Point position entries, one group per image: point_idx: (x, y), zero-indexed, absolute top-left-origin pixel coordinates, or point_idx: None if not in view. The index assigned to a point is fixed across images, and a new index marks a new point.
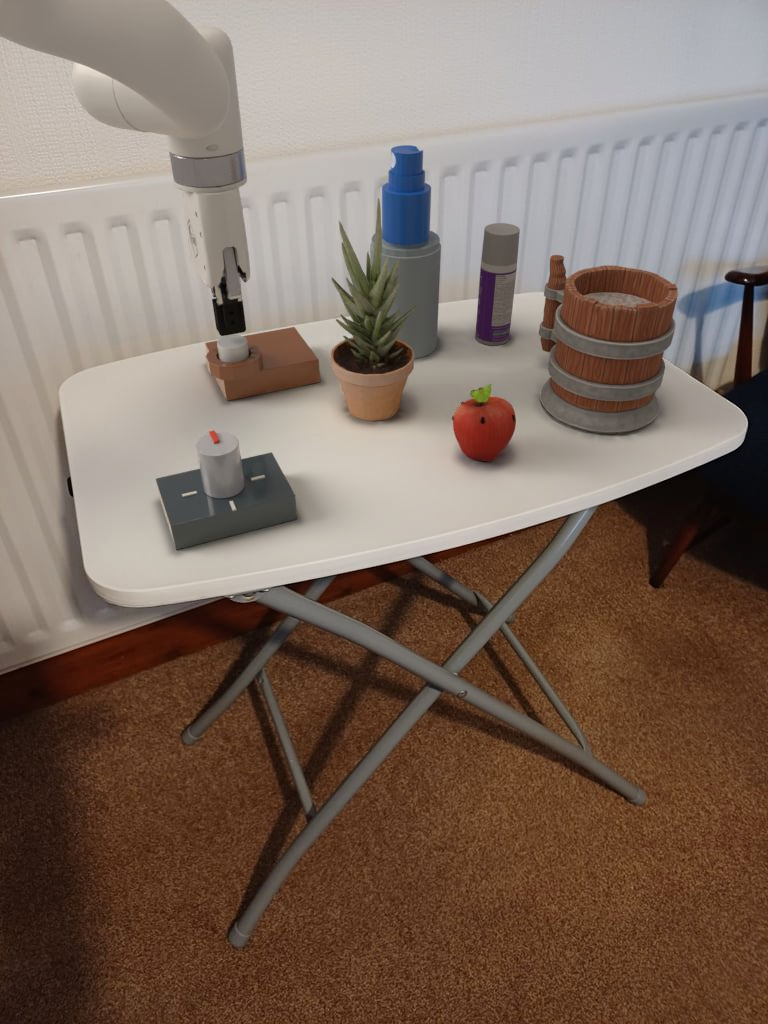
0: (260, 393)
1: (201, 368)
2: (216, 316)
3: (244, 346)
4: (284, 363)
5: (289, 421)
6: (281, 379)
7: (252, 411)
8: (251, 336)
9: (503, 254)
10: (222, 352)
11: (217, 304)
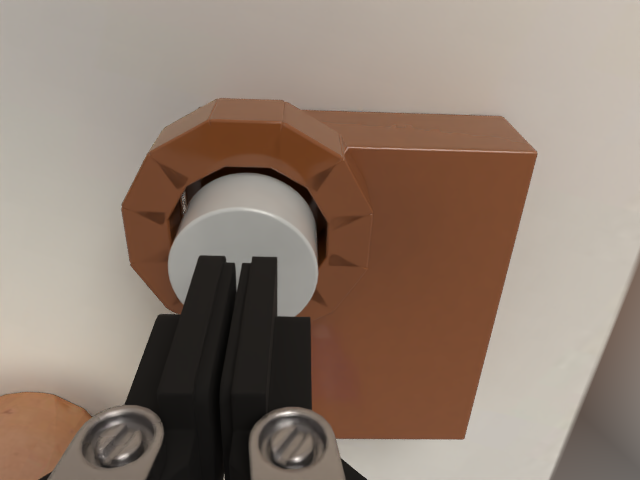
0: None
1: (494, 83)
2: (192, 322)
3: None
4: None
5: (10, 250)
6: None
7: (101, 167)
8: (477, 319)
9: None
10: (200, 205)
11: (162, 401)
